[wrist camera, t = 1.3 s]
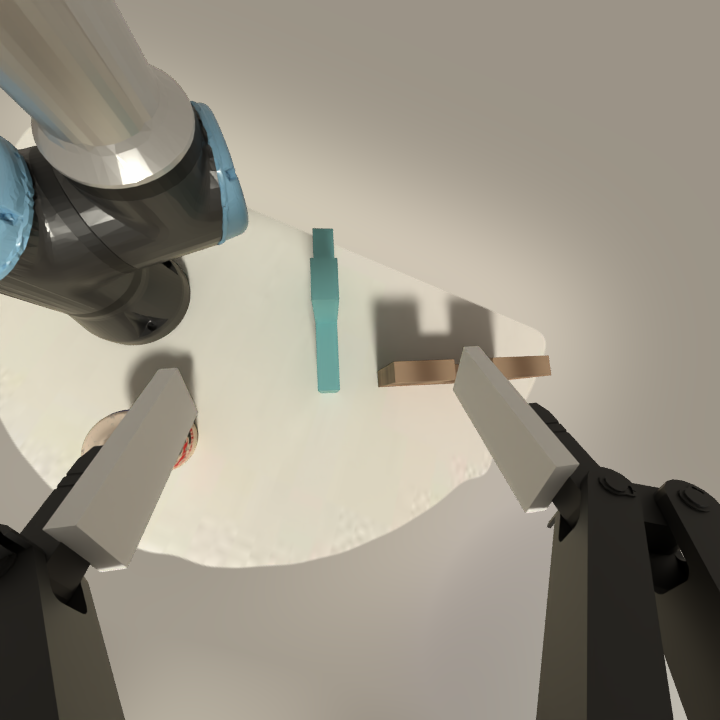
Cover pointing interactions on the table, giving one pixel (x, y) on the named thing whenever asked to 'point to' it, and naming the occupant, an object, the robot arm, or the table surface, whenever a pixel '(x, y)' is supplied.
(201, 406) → the table surface
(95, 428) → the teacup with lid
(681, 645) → the robot arm
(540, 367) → the walnut slotted plate
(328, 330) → the teal slotted plate
